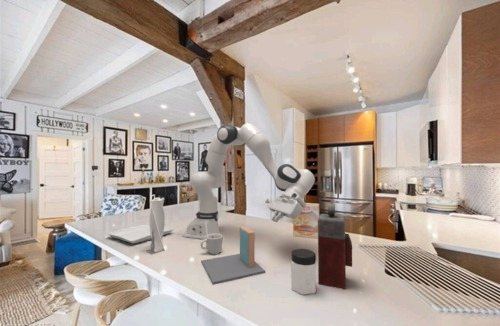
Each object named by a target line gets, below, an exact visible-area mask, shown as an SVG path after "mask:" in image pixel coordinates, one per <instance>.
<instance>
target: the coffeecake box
mask: <svg viewBox="0 0 500 326" xmlns="http://www.w3.org/2000/svg"><path fill="white" fill-rule="evenodd" d="M305 203H306V204H307V205H306V207H305V208H303V210H302V212H301V213H300V214H299V216H298V217H297V218H295V219H292V224H293V225H292V226H293V227H292V228H293V230H292V231H293V233H292V234H293V237H298V238H308V239H316V240H318V219H319V216H320V203H314V202H313V203H311V202H305Z"/></svg>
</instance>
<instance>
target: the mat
mask: <svg viewBox="0 0 500 326" xmlns="http://www.w3.org/2000/svg"><path fill="white" fill-rule="evenodd" d="M200 261H201V262H200V263H201V265H202V266H203V268H204V270H205V273H206V274H207V277H208V278H209V279H210V282H211V283H212V285H216V284H221V283H226V282H230V281H235V280H239V279H244V278H247V277H252V276H257V275H262V274H266V270H265V269H264V268H263V267H262V266H260V264H258V263H257V262H256V261H255V267H250V268H249V267H248V266H247V265H246V264H245V263H244V262H243V261H242V260H241V259H240V253H236V254H230V255H225V256H219V257H214V258H213V257H212V258H209V259H203V260H200Z"/></svg>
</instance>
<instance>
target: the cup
mask: <svg viewBox="0 0 500 326" xmlns="http://www.w3.org/2000/svg"><path fill="white" fill-rule="evenodd" d="M223 237H224V236H223V234H221V233H220V234H209V235H207V236H206V239H201V242H200V248H201V249H202V250H205V251H207V253H209V254H211V255H216V254H220V253H221V251H222V246H223ZM204 243H205V244H206V245H205V247H204V246H203V245H204Z"/></svg>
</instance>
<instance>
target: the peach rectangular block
mask: <svg viewBox="0 0 500 326" xmlns="http://www.w3.org/2000/svg"><path fill="white" fill-rule="evenodd" d="M255 238H256V237H255V231H254V230H251V229H250V228H249V227H247V226H245V225H244V226H240V227H239V254H240V259H241V260H242V261H243V262H244V263H245V264H246V265H247V266H248V267H249V268H250V267H255V262H256V261H255V257H256V256H255V255H256V254H255V253H256V252H255V247H256V246H255V242H256V241H255V240H256V239H255Z"/></svg>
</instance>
